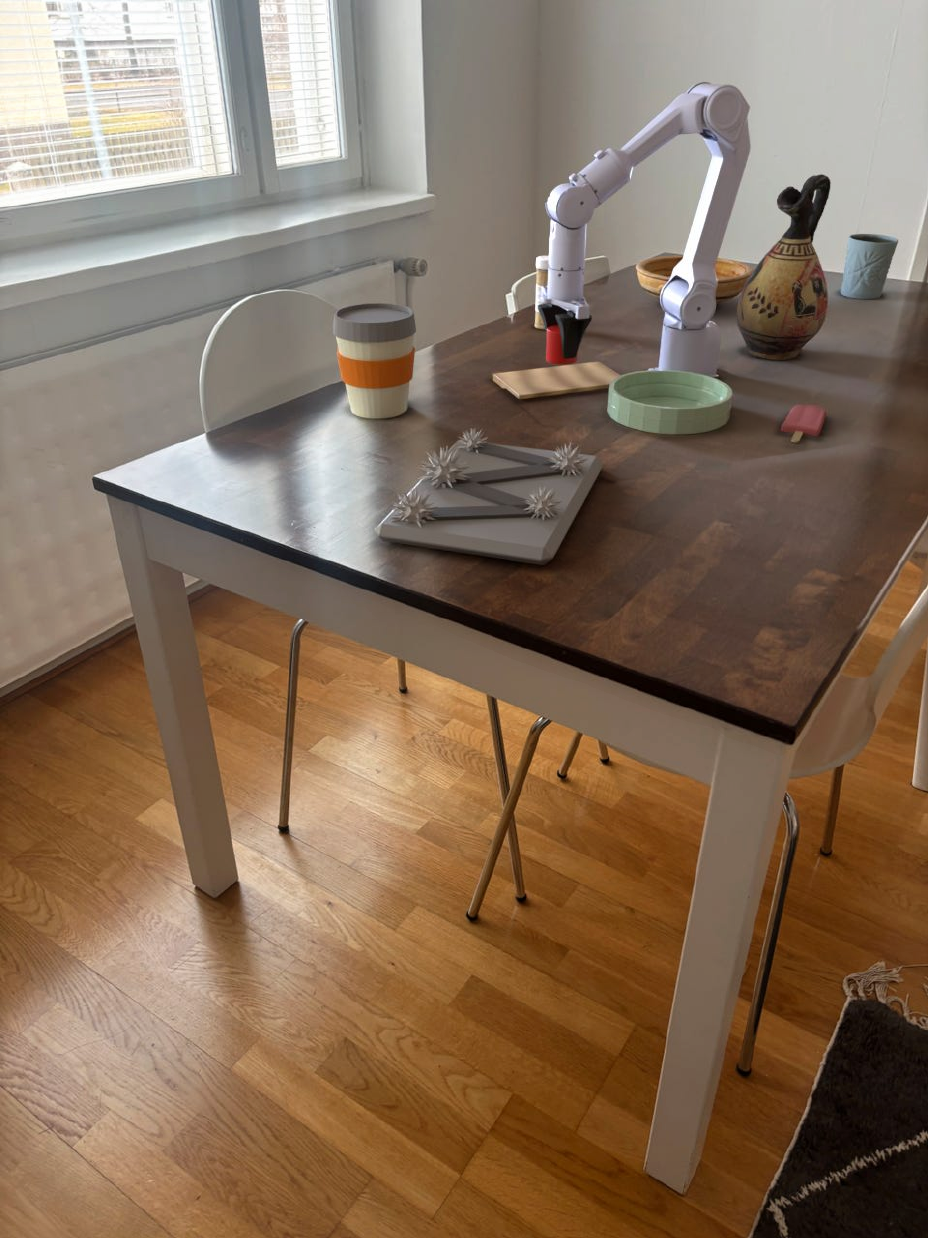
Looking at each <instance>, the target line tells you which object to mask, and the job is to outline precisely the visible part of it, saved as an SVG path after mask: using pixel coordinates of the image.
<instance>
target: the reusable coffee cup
mask: <svg viewBox="0 0 928 1238" xmlns="http://www.w3.org/2000/svg"><path fill="white" fill-rule="evenodd" d="M332 329H333V331H332V333H333V335H334V336H335V338H336V342H337V349H336V357H337V362H338V366H339V371H340V376H341V381H342V382H343V383H345V388H346V392H347V398H348V403H349V408H350V412H351V414H353V415H355V416H357V417H360V418H365V419H374V420H375V419H376V420H377V419H378V420H379V419H389V418H394V417H397V416H400V415H402V414H404V413H405V412H407V410H408V401H409V392H410V391H409V390H410V382H411V381H412V379H413V376H414V367H415V365H414V363H415V354H416V348H415V346H413V345H414V336H415V334H416V332H417V325H416V319H415V313H414V309H412V308H411V307H409V306H406V305H402V304H398V303H390V302H365V303H356V304H350V305H346V306H342V307H340V308H338V309H335V311H334V312H333V328H332Z"/></svg>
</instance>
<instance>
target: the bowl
mask: <svg viewBox="0 0 928 1238" xmlns="http://www.w3.org/2000/svg"><path fill="white" fill-rule="evenodd" d="M620 375H621V376H619V377H617V378H615V379H614V380H613V381H611V382H610V385H609V388H608V397H607V407H606V409H607V410H606V412H607V414H608V416H609V417H610V419H612V420H613V421H615V422H616V423H618V424H620V425H623V426H625V427H626V428H629V429H634V430H636V431H641V432H646V433H652V434H653V433H654V434H659V435H661V434H662V435H672V436H673V435H675V436H676V435H696V434H703V433H707V432H711V431H714V430H718V429H719V428H721V427H723V426H725V425H726V424H727V423H728V421H729V420H730V415H731V408H732V402H733V394H734V393H733V389H732V387H730V386H729V385H728V384H727V383H726V382H724V381H722V380H720V379H718V378H716V377H712V376H706V375H702V374H697V373H693V372H685V371H677V370H649V369H647V370H639V371H633V372H628V373H624V374H620Z"/></svg>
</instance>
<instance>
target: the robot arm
mask: <svg viewBox="0 0 928 1238" xmlns="http://www.w3.org/2000/svg"><path fill="white" fill-rule="evenodd" d="M750 110H751V106H750V104H749V103H748V101H747V99H746V98H745V97H744V94H743V93H742V91H741V90H740V89H739V88H738V87H737V86H735V85H732V84H716V83H711V82H709V81H701V82H697V83H695V84H693V85H691V86H690V88H689V89H687V91H686V92H683V93H681V94H679V95H678V96H676V97H675V98H674V99H673V100H672V101H671V102H670V103H669V105H668V106H667V107H665V108H664V109H663V110H662V111H661V112H659V114H657V116H655V117H654V118H653V119H652V120H651V121H650V122H649V123H648V124H646V125H645V127H643V128H642V129H641V130H640V131H639V132H638V133H637V134H635V136H634V137H632V138H631V139H630V140H629V141H628V142H627V143H626V144H624V145H623V146H622V147H621V148H620V149H617V148H610V147H609V148H607V149H606V150H605V151H604V150H601V149H599V150H598V151H597V152H595V153H594V154H593V157H594V160H592V161H591V162H590V163H589V164H587V165H586V166H585V167H584V168H582V169H581V170H580V171H579V172H578V173H577V174H576V173H572V174H570V175H569V177H568V179H569V182H566V183H561V184H559V185H557V186H556V187H554V188H553V189H552V190H551V192H550V194H549V196H548V198H547V202H545V211H546V214H547V216H548V217H549V218H550V227H549V241H548V256H549V263H548V286H544V287H542V288H541V297H540V301H541V302H543V303H545V304H540V305H538V310H539V312H540V314H541V317H542V319H543V322H544V326H545V335H546V337H547V328H548V327H549V326H552V325H559V329H560V334H561V346H562V355H563V358H564V359H568V358H576V355H577V352H578V351H579V349H580V346H581V342H582V339H583V337H584V334H585V332H586V330H587V328H588V326H590V323H592V320H593V316H592V315H591V306H590V304H588V303H587V301H586V298H585V296H584V282H585V280H584V279H585V266H586V265H585V264H586V245H587V224H588V223H590V222H591V220H592V218H593V215H594V213H595V212H594V211H595V209H598V208H599V207H600V206H601V205H602V204H604V203H605V202H606V201H607V200H609V199H610V198H611V197H612V196H613V195H615V194H616V193H618V192H619V190H621V189H622V188H623V187H624V186H626V185H627V184H628V183H629V182H630V181H631V178H632V174H633V170H634V168H635V167H636V166H638V165H639V164H641V163H642V162H643V161H645V160H646V159H647V158H649V157H650V156H651V155H653V154H654V153H655V152H657V151H659V149H661V148H663V146H665V145H667V144H668V143H669V142H671V141H672V140H673V139H675V138H676V137H677V136H681V135H689V134H691V135H692V134H698V135H699V136H701V138H702V139H703V141H704V143H705V145H706V146H707V148H708V150H709V152H710V153H711V160H710V163H709V166H708V169H707V173H706V177H705V181H704V184H703V188H702V191H701V194H700V198H699V201H698V204H697V208H696V211H695V214H694V219H693V221H692V224H691V225H692V226H691V228H690V232H689V235H688V238H687V242H686V245H685V249H684V252H683V255H682V256H683V259H682V260H681V261H680V262H679V263H678V264H677V265H676V266H675V267H674V269H673V271H672V275H671V277H670V279H669V281H668V282H667V283H666V284H665V286H664V287H663V289H662V291H661V294H660V300H659V302H660V303H659V304H660V306H661V309H662V310H663V311H664V318H663V322H662V333H661V340H660V341H661V342H660V351H659V361H658V367H650V368H648V370H677V371H685V372H693V373H697V374H702V375H706V376H710V377H712V378H716V377H717V378H718V377H719V375H718V374H717V370H718V364H719V357H720V351H721V341H722V339H721V337H722V336H721V331H720V328H719V326H718V325H717V323H715V322H714V321H711V320H712V319H713V317H714V315H715V313H716V311H717V304H716V298H715V294H716V289H717V286H718V282H717V277H716V273H715V264H716V261H717V258H719V254H720V252H721V248H722V245H723V241H724V238H725V235H726V232H727V228H728V226H729V222H730V219H731V216H732V212H733V210H734V206H735V202H736V200H737V196H738V193H739V189H740V187H741V183H742V179H743V177H744V174H745V170H746V168H747V165H748V160H749V157H750V155H751V149H752V145H751V137H750V135H751V134H750V127H749V120H748V116H749V113H750ZM578 353H579V352H578ZM577 356H578V355H577Z"/></svg>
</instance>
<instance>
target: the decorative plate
mask: <svg viewBox="0 0 928 1238" xmlns="http://www.w3.org/2000/svg"><path fill="white" fill-rule="evenodd" d="M463 430H464V431H462V430H461V431H462V433H463V434H462V437H461V436H458V438H459V439H458V440H456V441H455V443H454V444H453V445H452V446H450V448H448V447H449V446H448V445H446V449H445V446H442V447H443V448H442V447H440V451H439V455H438V454H437V452H436V451H435V450H434V449H433V451H432V450H431V449H429V450H430V452H431V454H430V453H429V452H426V454H427V455H428V456H427V459H428V460H429V462H428V461H423V460H419V462H420V463H422V464H421V465H420V466H421V467H420V466H419V467H416V468H417V469H420V470H422V471H424V472H426V473H425V474H423V475H422V476H420V477H418V478H417V479H418V480H419V479H420V480H419V481H418V482H417V483H416V484H415V486H413V488H410V489H409V492H408V493H407V494H406V493H405V492H404V491H402V490H400V491H401V494H402V496H401V495H400V494H399V493H398V492H396V494H397V497H398V500H400V502H396V501H392V500H390V502H391V503H393V504H392V507H391V506H389V507H388V508H389V509H391V511H390V512H389V513H388V515H387V516H385V517H384V518H383V520H382V521H381V522H379V524H378V525H377V526H376V527H375V528H374V529H373V533H374V534H375V535H377V537H378V538H379V539H380V540H382V541H383V542H389V543H396V544H402V545H407V546H408V545H409V546H415V547H422V548H428V549H434V550H441V551H446V552H447V551H448V552H454V553H461V554H466V555H467V554H468V555H474V556H481V557H486V558H493V559H501V560H506V561H512V562H519V563H520V562H521V563H527V564H533V565H539V566H544V565H546V564H547V563H548V562H550V561H552V560H553V559H554V557H555V556H556V553H557V552H558V550H559V548H560V546H561V544H562V542H563V540H564V539H565V537H566V535H567V533H568V531H569V529H570V528H571V526H572V524H573V522H574V521H575V519H576V517H577V515H578V513H579V511H580V509H581V508H582V506H583V505H584V502H585V500H586V498H587V496H588V495H589V493H590V491H591V489H592V488H593V486H594V484H595V482H596V481H597V479H598V477H599V475H600V473H601V471H602V469H603V468H604V465H605V463H604V462H603V461H602V460H600V458H599V457H598V456H597V455H592V454H583V453H581V451H582V450H583V448H580V449H579V450H578V448H579V447H580V445H579V444H578V445H577V447H574V449H573V450H572V442H570V443H569V444H568V446H567V445H566V444H564V448H563V446H562V445H561V446H560V448H559V446H557V445H556V447H557V448H555V450H549V449H541V448H534V447H524V446H518V445H517V446H515V445H508V444H500V443H499V444H498V443H491V442H489V440H487V439H489V436H488V437H483V435H484V434H485V431H483V432H482V430H480V431H476V429H470V432H469V431H468V430H465V429H463ZM481 432H482V433H481Z"/></svg>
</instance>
